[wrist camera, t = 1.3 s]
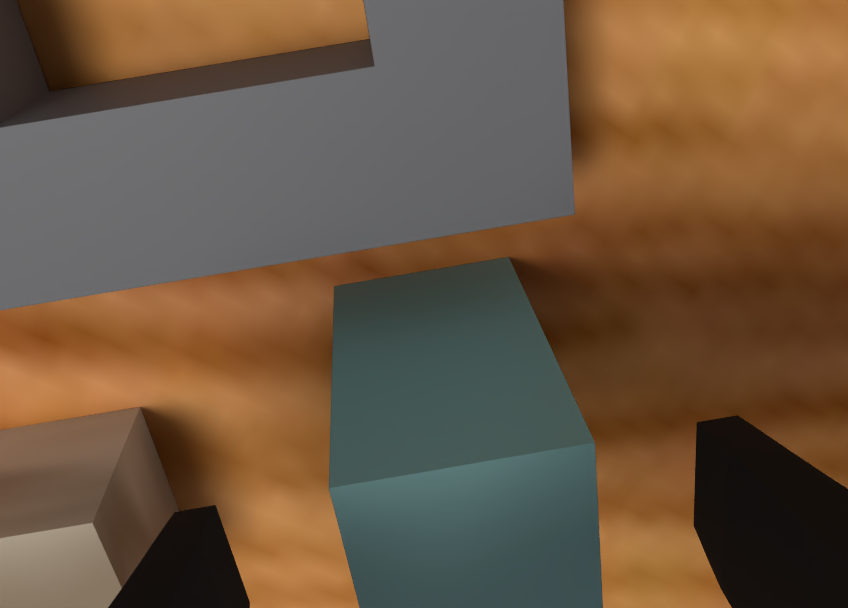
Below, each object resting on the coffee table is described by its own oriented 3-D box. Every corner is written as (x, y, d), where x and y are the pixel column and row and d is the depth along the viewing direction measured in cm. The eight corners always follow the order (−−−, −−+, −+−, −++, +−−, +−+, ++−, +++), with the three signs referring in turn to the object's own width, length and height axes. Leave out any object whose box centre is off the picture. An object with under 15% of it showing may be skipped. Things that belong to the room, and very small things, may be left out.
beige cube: (187, 528, 18) (153, 659, 15) (36, 553, 18) (-29, 689, 15) (141, 405, 16) (92, 523, 13) (-25, 432, 16) (-113, 557, 13)
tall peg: (523, 401, 17) (603, 626, 12) (365, 428, 17) (374, 666, 12) (508, 257, 15) (594, 442, 10) (333, 286, 15) (328, 488, 10)
